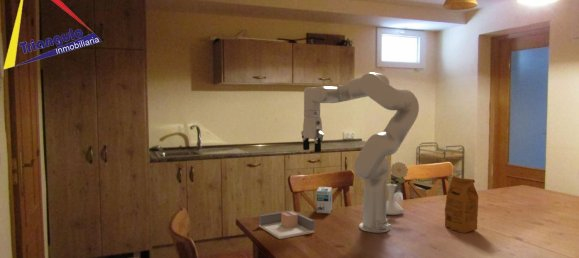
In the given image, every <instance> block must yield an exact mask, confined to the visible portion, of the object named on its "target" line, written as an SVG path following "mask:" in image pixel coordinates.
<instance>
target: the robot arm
mask: <svg viewBox="0 0 579 258" xmlns="http://www.w3.org/2000/svg"><path fill="white" fill-rule="evenodd" d="M366 97H369V99H371V100H373V101H374V102H376V103H377V104H378V105H380V106H381V107H382V108H384V109H386V110H388V111H396V112H395V113H394V114H393V116H392V117H391V118H390V120H389V121H388V123H387V125H385V126H386V127H385V128H384V129H383V130H382V132H377V133H374V134H372V135H371V136H370V137H369V138H368V139H367V140H366V142H365V143H364V145H363V147H361V149H360V152H359V154H357V156H356V159H355V161H354V164H353V165H354V166H353V170H354V174H355V175H356V176H357V177H358V178H359V179H362V180H364V181H363V193H362V195H363V197H362V198H363V199H362V204H363V205H362V206H363V207H362V208H363V209H362V222H361V223H359V225H358V227H359V229H360V230H362V231H364V232H367V233H374V234H382V233H387V232H389V231H390V230H391V228H392V227H393V225H392V224H390V223H388V222H389V220H388V219H387V214H386V204H387V201H388V199H387V197H388V195H387V194H388V192H387V191H388V187H387V184H388V179H389V178H388V177H389V173H390V172H389V171H390V163H389V160H388V158H387V157H389V156H392V155H394V154H396V153H397V151H398V150H399V149H400V147H401V145H402V143H403V142H404V140H405V138H406V137H407V136H408V134H409V132H410V130H411V129H412V127H413V125H414V123H415V122H416V120H417V118H418V116H419V111H420V106H419V105H420V104H419V101H418V98H417V96H416V95H415V94H414V92H412V91H411V90H409V89H406V88H398V87H397V88H396V87H394V86H392V85H391V84H390V80H389V77H387V76H386V75H385V74H382V73H379V72H378V73H377V72H367V73H365V74H363V75H362V76H360V77H357V78H356V77H355V78H352V79H350V80H349V81H348V82H347V83H346V84H342V85H337V86H331V85H330V86H327V85H326V86H324V85H322V86H316V87H315V86H314V87H313V86H311V87H310V86H308V87H307V86H306V87H305V88H304V90H303V123H302V124H303V125H302V131H301V132H300V134H301V138H302V150H303V151H309V150H310V139H311V140H314V142H315V143H314V153H321V152H322V142H323V140H324V133H323V123H322V122H323V121H322V117H321V104H335V103H336V104H337V103H338V104H339V103H343V102H347V101H352V100H357V99H360V98H361V99H362V98H366Z"/></svg>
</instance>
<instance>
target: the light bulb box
mask: <svg viewBox="0 0 579 258" xmlns="http://www.w3.org/2000/svg"><path fill="white" fill-rule="evenodd" d="M332 209H333V187H329V186H319V187H318V188H317V190H316V214H317V213H318V214H331V211H332Z"/></svg>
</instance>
